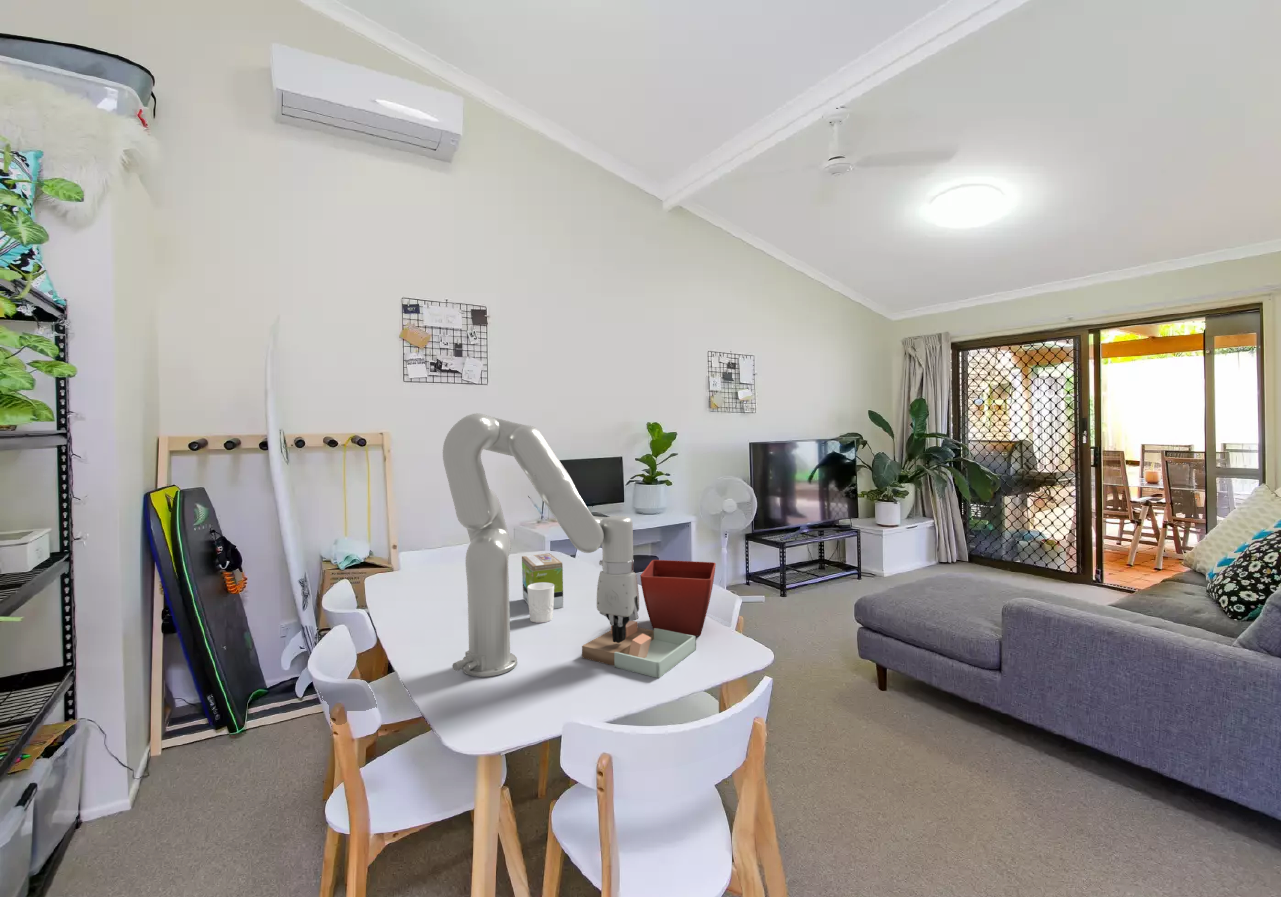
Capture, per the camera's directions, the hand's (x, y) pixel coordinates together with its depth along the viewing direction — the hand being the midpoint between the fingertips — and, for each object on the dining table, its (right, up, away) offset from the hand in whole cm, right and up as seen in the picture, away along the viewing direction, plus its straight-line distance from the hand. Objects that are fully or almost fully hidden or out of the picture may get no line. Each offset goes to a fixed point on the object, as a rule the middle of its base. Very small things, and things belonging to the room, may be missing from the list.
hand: (619, 640), depth 140 cm
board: (0, -4, +5) cm, 6 cm away
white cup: (-24, -4, +29) cm, 38 cm away
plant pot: (+16, -4, +21) cm, 27 cm away
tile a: (+4, 0, -3) cm, 5 cm away
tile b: (+1, -1, +9) cm, 9 cm away
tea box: (-26, -3, +44) cm, 52 cm away
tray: (+9, -4, -1) cm, 10 cm away
